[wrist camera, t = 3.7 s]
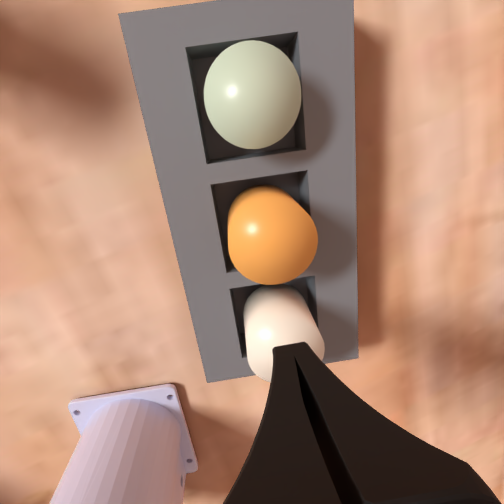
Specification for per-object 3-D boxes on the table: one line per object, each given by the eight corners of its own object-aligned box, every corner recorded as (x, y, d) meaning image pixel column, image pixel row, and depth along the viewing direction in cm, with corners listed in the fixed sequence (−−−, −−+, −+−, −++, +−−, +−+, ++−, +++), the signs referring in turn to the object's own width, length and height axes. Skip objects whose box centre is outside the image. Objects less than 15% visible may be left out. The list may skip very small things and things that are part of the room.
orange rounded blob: (301, 248, 18) (320, 277, 15) (233, 258, 18) (235, 291, 15) (295, 179, 17) (315, 192, 13) (221, 190, 17) (221, 206, 13)
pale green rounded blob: (287, 139, 17) (304, 142, 14) (216, 150, 17) (213, 155, 14) (280, 56, 16) (297, 33, 12) (202, 67, 16) (194, 47, 12)
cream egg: (308, 332, 21) (326, 377, 17) (247, 342, 21) (252, 389, 17) (303, 278, 19) (322, 314, 15) (238, 288, 19) (241, 326, 15)
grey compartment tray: (342, 331, 24) (358, 358, 21) (209, 352, 23) (207, 382, 20) (331, 7, 16) (353, -19, 13) (136, 34, 16) (118, 13, 13)
